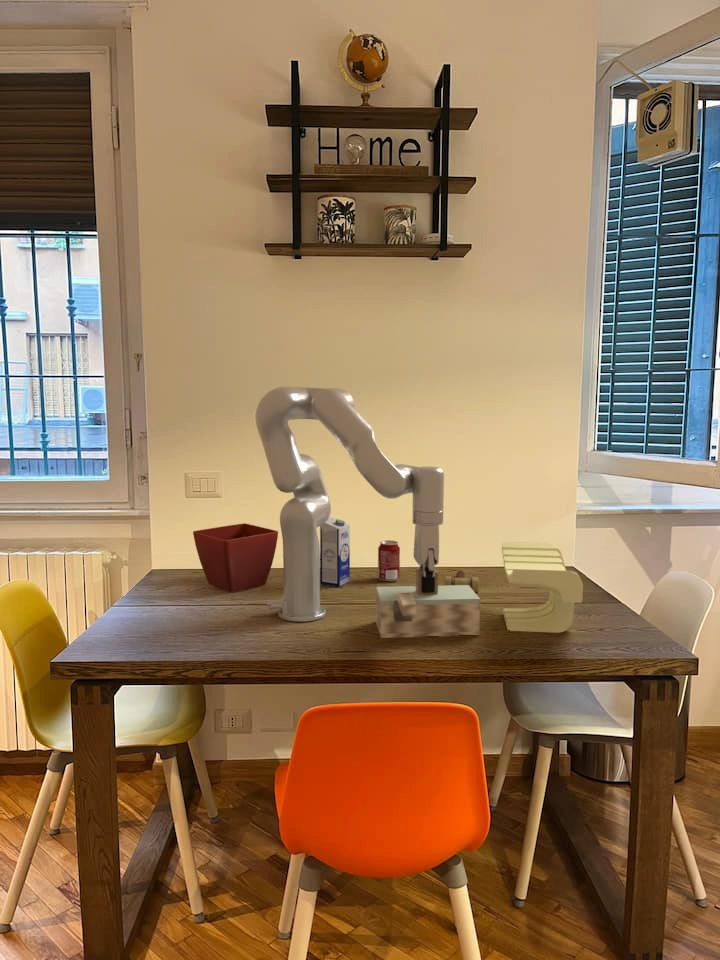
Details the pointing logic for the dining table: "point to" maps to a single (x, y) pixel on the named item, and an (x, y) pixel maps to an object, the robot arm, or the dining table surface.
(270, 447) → the robot arm
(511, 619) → the slatted curved stool
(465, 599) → the lid
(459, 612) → the toolbox
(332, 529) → the milk carton
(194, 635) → the dining table surface
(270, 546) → the plant pot
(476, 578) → the gavel
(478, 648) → the dining table surface
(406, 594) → the bar
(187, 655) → the dining table surface
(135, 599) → the dining table surface
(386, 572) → the soda can
